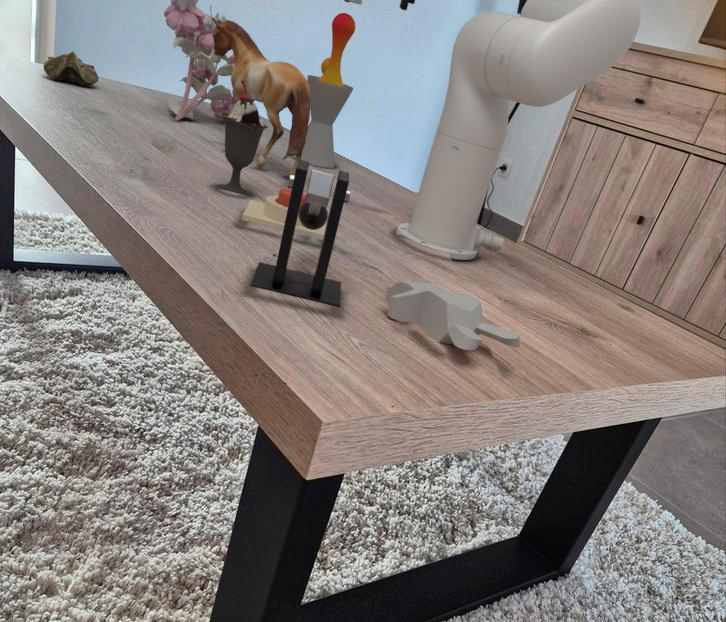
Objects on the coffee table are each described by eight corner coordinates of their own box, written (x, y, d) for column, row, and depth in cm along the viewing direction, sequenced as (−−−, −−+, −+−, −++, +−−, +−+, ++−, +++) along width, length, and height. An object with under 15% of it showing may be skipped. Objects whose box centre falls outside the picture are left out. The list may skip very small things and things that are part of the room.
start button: (305, 206, 90) (308, 193, 89) (303, 213, 87) (306, 200, 86) (278, 199, 89) (281, 186, 89) (275, 206, 86) (278, 192, 85)
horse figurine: (193, 135, 127) (210, 14, 118) (229, 140, 132) (248, 24, 123) (283, 189, 108) (311, 50, 99) (321, 192, 113) (351, 60, 104)
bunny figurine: (437, 272, 76) (537, 318, 65) (427, 316, 78) (523, 367, 67) (369, 270, 70) (466, 319, 59) (360, 317, 72) (452, 373, 61)
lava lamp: (342, 170, 135) (390, -29, 119) (301, 163, 130) (344, -45, 114) (325, 158, 141) (367, -32, 126) (285, 151, 137) (324, -48, 121)
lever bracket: (257, 272, 73) (280, 151, 67) (338, 291, 74) (368, 175, 68) (248, 295, 67) (273, 164, 61) (337, 316, 68) (370, 190, 62)
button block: (327, 231, 94) (333, 207, 92) (325, 248, 87) (331, 222, 85) (248, 211, 92) (253, 186, 91) (240, 227, 85) (244, 200, 84)
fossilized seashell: (103, 75, 146) (55, 70, 145) (95, 46, 140) (45, 41, 140) (95, 97, 142) (46, 93, 142) (87, 69, 137) (36, 64, 136)
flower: (262, 138, 134) (289, 14, 134) (145, 98, 126) (173, -35, 125) (242, 160, 153) (266, 51, 152) (139, 127, 145) (164, 11, 144)
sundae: (220, 181, 102) (236, 76, 96) (261, 194, 102) (281, 89, 95) (202, 188, 97) (218, 76, 90) (246, 202, 96) (266, 91, 89)
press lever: (295, 229, 76) (301, 201, 76) (323, 236, 76) (329, 208, 76) (300, 196, 64) (307, 163, 64) (333, 204, 64) (340, 172, 64)
